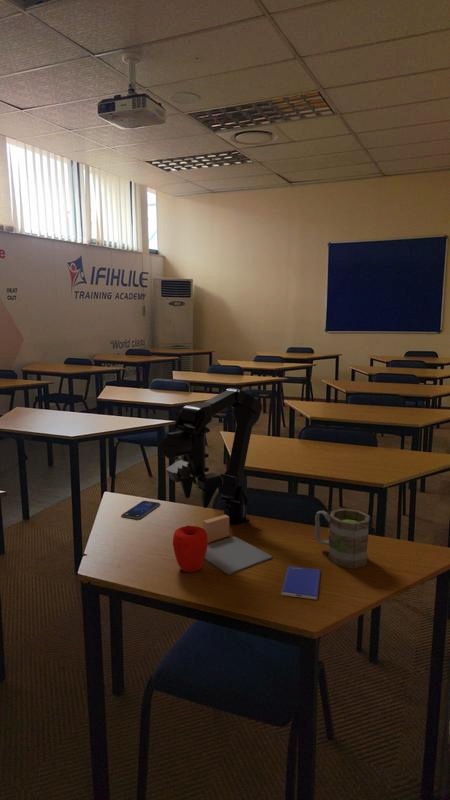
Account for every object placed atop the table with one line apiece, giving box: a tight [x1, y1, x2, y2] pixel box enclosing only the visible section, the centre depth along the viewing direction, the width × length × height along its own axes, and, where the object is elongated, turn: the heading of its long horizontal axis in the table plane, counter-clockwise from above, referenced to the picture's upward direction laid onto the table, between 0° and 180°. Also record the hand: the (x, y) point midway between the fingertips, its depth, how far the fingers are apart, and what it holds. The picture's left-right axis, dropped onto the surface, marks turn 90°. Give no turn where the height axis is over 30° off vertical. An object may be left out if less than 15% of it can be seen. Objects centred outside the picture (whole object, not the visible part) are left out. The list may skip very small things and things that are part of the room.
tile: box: [202, 514, 230, 543], centre depth 147 cm, size 8×2×6 cm, turn 128°
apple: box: [172, 525, 209, 573], centre depth 129 cm, size 9×9×11 cm
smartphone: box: [120, 500, 161, 521], centre depth 168 cm, size 7×1×15 cm
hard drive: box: [281, 565, 321, 600], centre depth 122 cm, size 2×8×12 cm
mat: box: [204, 535, 273, 575], centre depth 137 cm, size 15×16×1 cm
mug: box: [314, 508, 371, 569], centre depth 136 cm, size 16×11×12 cm
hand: (196, 502), depth 145 cm, fingers open, 9 cm apart
